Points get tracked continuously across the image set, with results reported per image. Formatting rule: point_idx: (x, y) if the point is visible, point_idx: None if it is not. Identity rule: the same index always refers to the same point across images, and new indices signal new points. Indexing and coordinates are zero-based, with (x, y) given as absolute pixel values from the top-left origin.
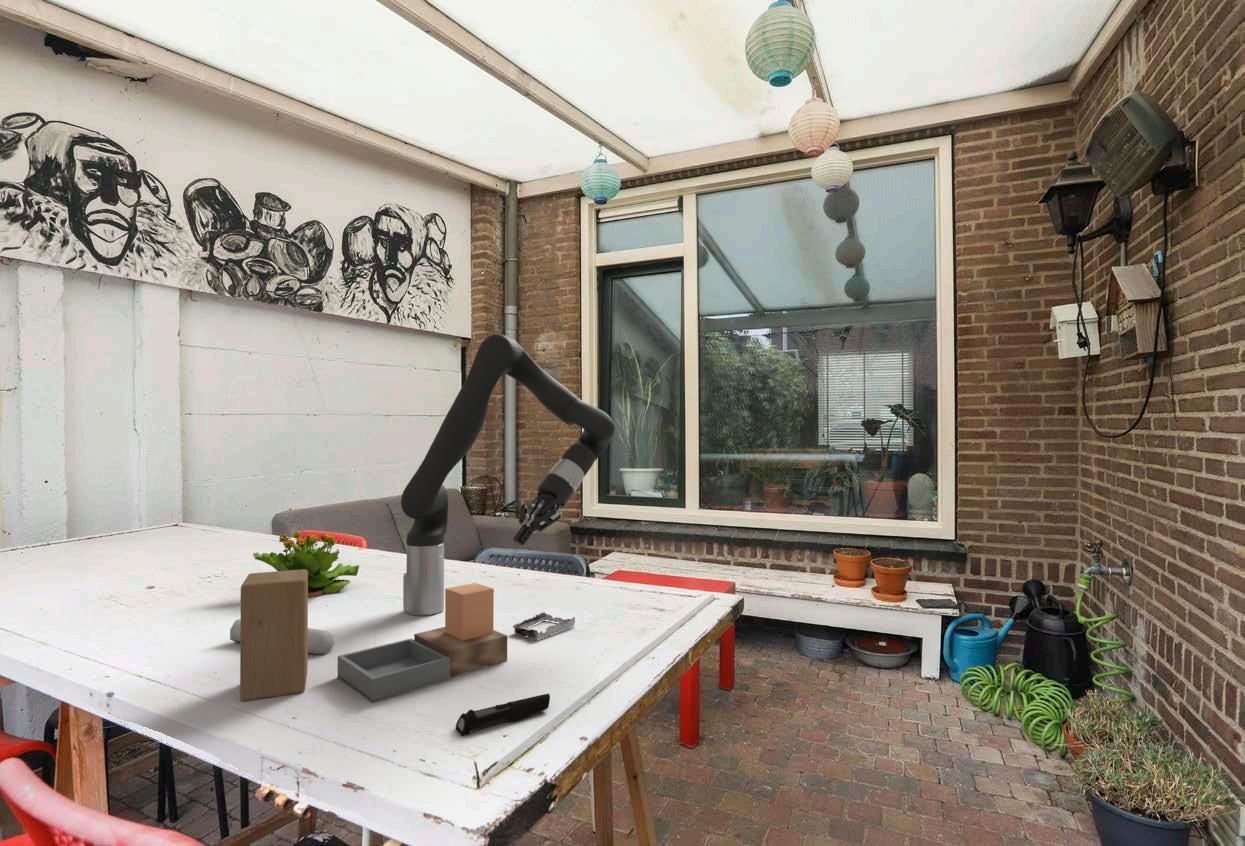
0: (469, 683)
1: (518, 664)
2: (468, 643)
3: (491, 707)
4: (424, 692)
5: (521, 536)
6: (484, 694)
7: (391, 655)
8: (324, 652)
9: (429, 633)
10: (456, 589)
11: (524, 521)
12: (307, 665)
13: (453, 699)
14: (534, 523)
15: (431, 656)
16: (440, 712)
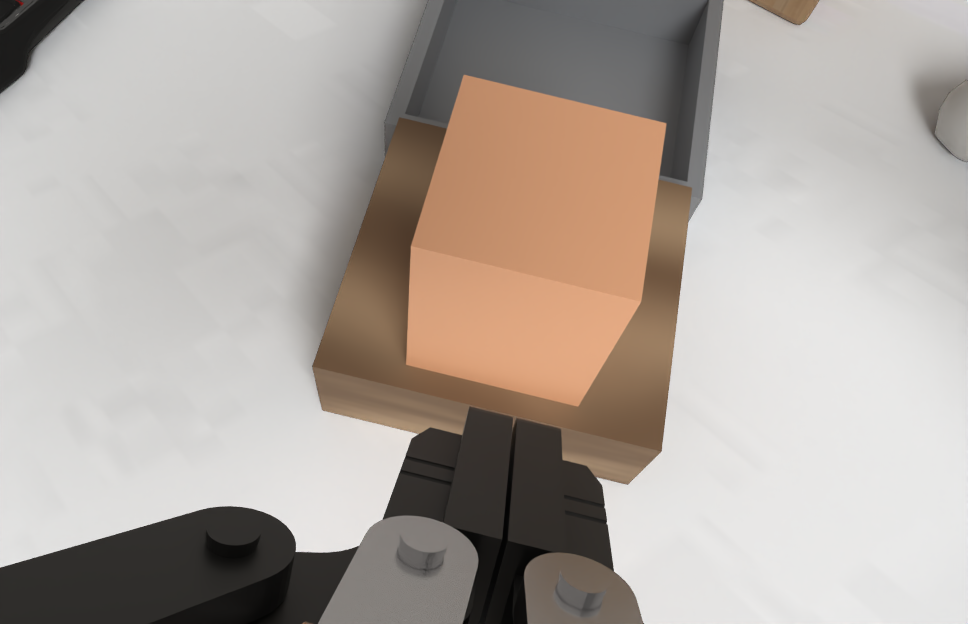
0: (298, 180)
1: (247, 401)
2: (398, 207)
3: (36, 5)
4: (378, 78)
5: (447, 455)
6: (187, 142)
7: (679, 151)
8: (936, 128)
9: None
10: (593, 133)
11: (598, 619)
12: (804, 5)
13: (256, 81)
14: (228, 525)
15: None
16: (229, 15)
